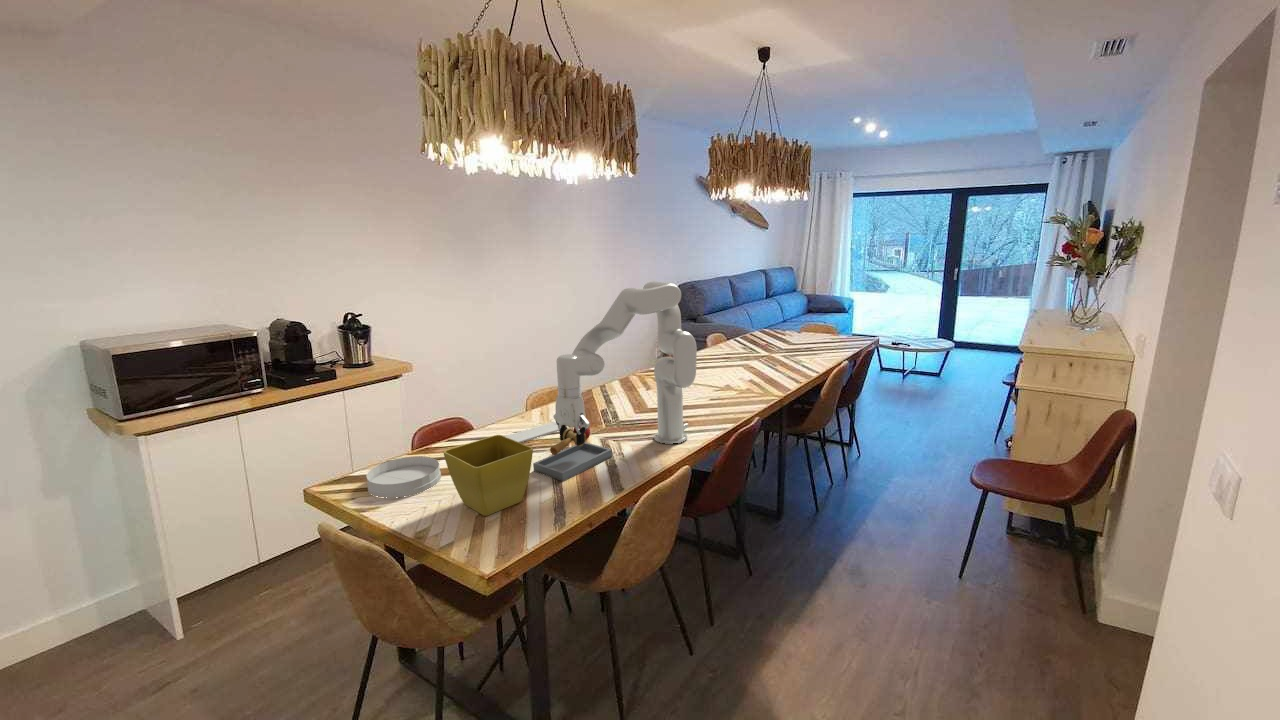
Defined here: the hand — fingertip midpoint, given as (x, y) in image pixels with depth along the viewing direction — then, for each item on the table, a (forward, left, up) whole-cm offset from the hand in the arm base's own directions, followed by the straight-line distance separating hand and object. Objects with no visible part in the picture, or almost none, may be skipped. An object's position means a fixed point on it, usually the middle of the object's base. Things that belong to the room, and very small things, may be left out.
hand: (572, 441), depth 190 cm
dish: (+42, -35, -9) cm, 55 cm away
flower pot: (+34, 0, -8) cm, 35 cm away
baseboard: (-10, -36, -9) cm, 38 cm away
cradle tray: (0, 0, -8) cm, 8 cm away
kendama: (+1, 0, -2) cm, 2 cm away
